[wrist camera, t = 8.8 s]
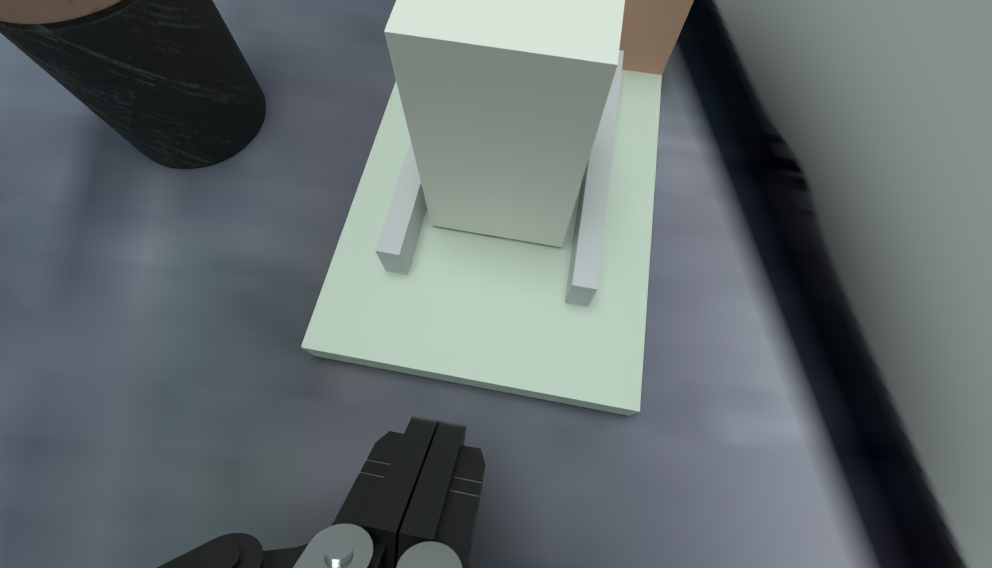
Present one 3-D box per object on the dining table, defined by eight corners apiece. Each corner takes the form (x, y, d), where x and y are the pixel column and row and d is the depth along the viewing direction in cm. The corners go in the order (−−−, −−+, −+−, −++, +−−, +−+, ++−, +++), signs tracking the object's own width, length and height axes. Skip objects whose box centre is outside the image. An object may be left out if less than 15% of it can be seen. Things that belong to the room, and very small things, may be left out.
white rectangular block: (561, 247, 21) (617, 64, 11) (431, 225, 21) (383, 31, 12) (574, 157, 23) (632, -62, 13) (455, 139, 23) (430, -87, 14)
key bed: (629, 415, 20) (791, 347, 9) (313, 355, 20) (121, 228, 10) (656, 46, 28) (758, -218, 17) (431, 14, 29) (394, -255, 18)
